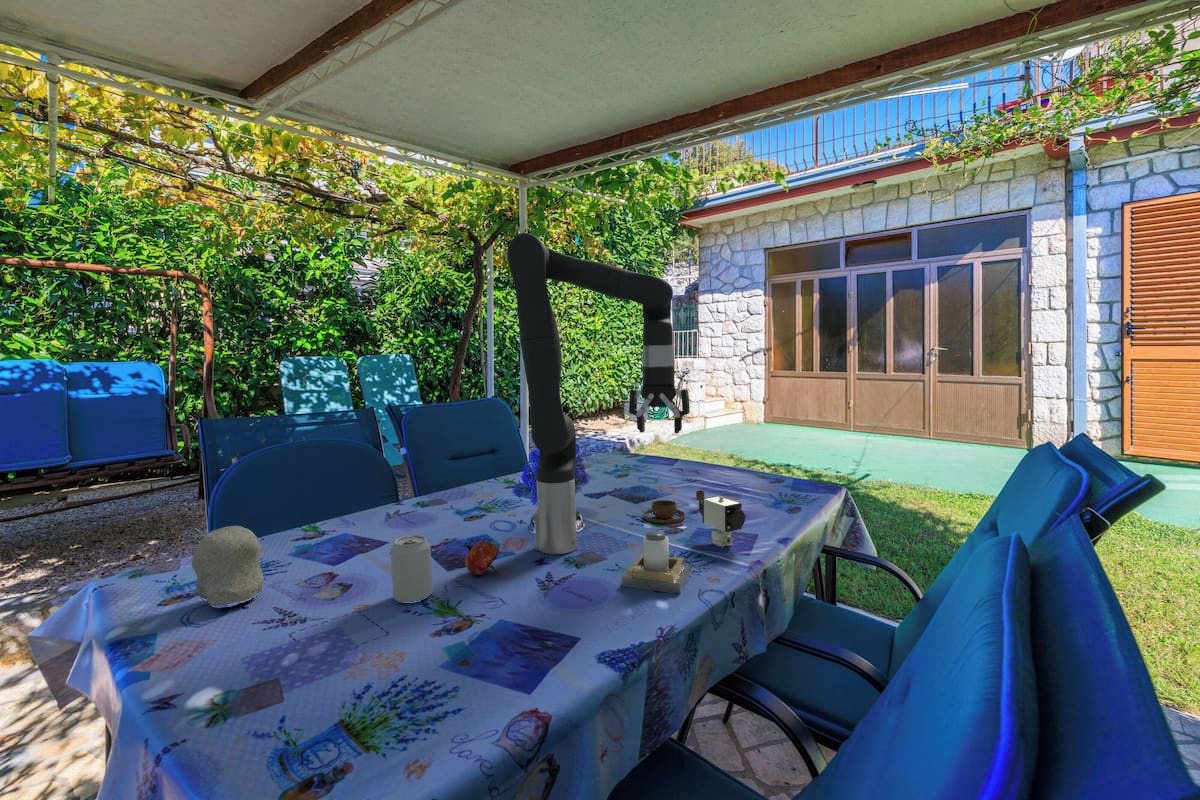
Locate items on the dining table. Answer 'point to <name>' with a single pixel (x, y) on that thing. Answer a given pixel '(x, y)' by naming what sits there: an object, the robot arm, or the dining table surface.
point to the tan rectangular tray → (657, 576)
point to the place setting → (669, 510)
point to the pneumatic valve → (722, 518)
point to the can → (411, 568)
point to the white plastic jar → (656, 551)
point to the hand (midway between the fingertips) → (659, 432)
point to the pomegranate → (481, 557)
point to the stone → (228, 566)
